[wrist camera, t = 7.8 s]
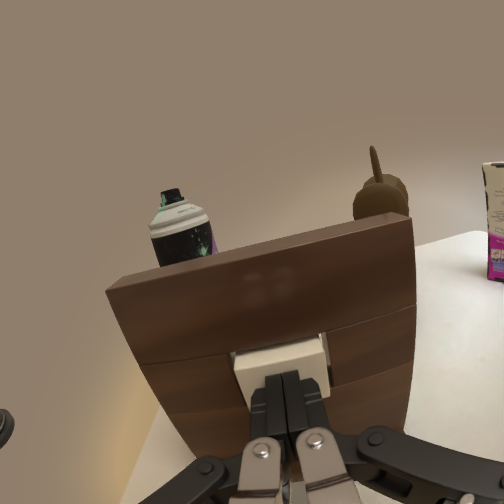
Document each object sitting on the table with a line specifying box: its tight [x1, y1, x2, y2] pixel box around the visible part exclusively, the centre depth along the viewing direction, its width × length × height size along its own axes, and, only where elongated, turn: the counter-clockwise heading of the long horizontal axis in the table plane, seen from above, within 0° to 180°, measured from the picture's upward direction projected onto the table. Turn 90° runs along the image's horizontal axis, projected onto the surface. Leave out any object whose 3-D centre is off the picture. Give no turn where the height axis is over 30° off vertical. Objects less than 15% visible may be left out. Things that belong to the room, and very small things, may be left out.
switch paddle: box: [234, 334, 330, 411], centre depth 13 cm, size 3×4×3 cm
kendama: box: [353, 146, 409, 220], centre depth 28 cm, size 6×10×20 cm, turn 150°
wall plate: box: [105, 212, 417, 482], centre depth 16 cm, size 8×14×16 cm, turn 89°
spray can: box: [148, 188, 218, 267], centre depth 26 cm, size 6×6×20 cm
